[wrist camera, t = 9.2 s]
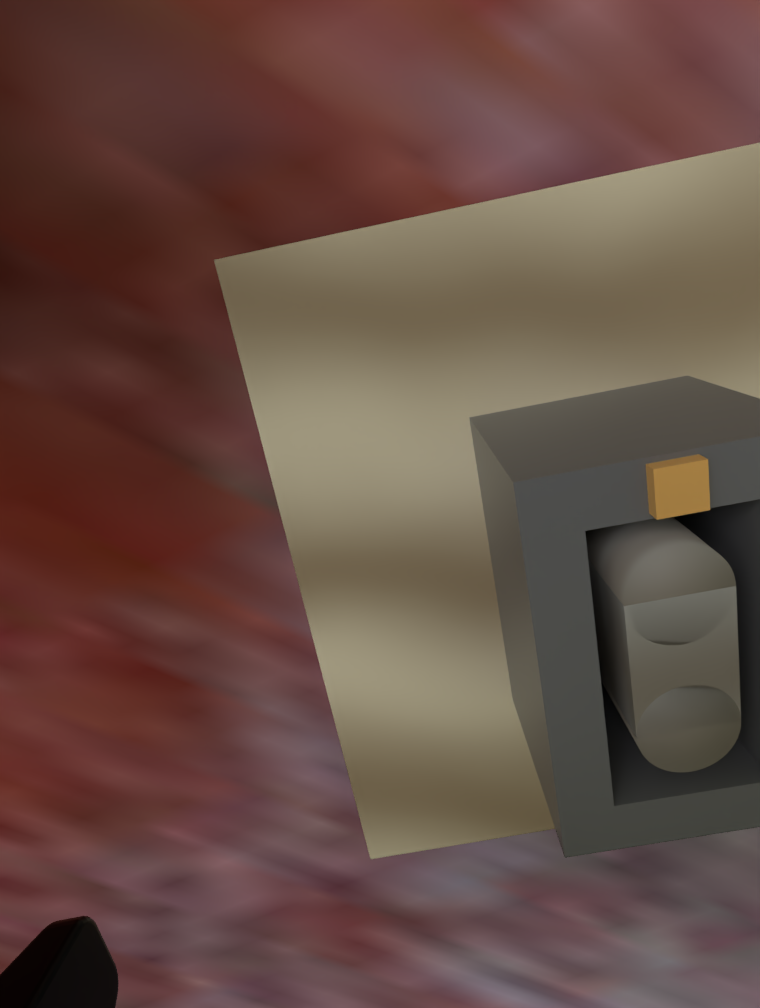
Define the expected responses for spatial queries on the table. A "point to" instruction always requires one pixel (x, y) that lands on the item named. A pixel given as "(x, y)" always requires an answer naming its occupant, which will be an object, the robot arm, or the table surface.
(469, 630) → the switch plate
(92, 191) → the table surface
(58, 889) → the table surface
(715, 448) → the grey open bin
